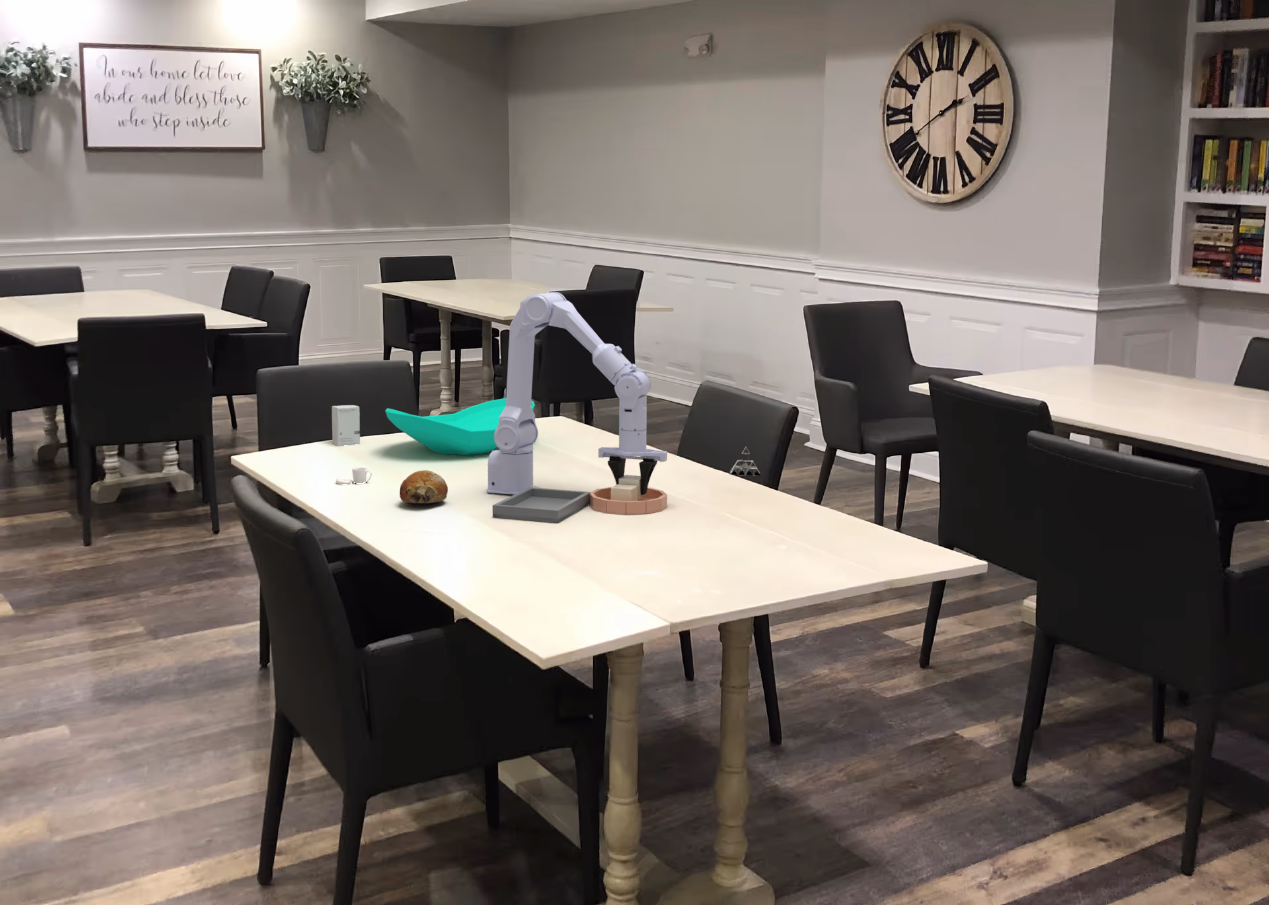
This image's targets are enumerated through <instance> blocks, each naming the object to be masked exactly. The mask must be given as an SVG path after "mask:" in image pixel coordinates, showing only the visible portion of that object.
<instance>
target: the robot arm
mask: <svg viewBox="0 0 1269 905" xmlns="http://www.w3.org/2000/svg"><path fill="white" fill-rule="evenodd" d="M519 306H520V307H519V308H518V310H517V312H516V313H515V315H514V317H513V319H512V320H511V323H510V326H509V338H508V360H507V373H506V374H507V375H506V376H507V377H506V397H505V398H506V407H505V409H504V410H503V412H502V414H501V415H500V417H499V424H498V427H497V429H496V430H495V433H494V440H495V443H496V445H497V448H498V449H494V450H492V451H490V452H489V455H488V460H487V490H486V492H487V493H492V494H500V495H501V494H502V495H515V494H517V493H519V492H521V491H523V490H525V489H527V488H529V487H533V488H541V487H540V486H537V485H536V486H535V485H534V444H535V443H536V441H537V440H538V437H539V429H538V426H537V424H536V414H535V412H534V409H533V410H532V408H531V401H532V392H533V374H534V358H535V357H534V354H535V339H536V335H537V334H538V333H539V332H541V331H542V330H543V329H544V328H546V327H547V326H551V327H557V328H559V329H561V328H562V329H565V330H567V332H569V334H571V336H573V337H574V338H575V339H576V340H577V341H578V342H579V343H580V344H581V345H582V346H583V347H584V348H585V349H586V351H587V350H588V351H589V353H591V355H592V363H593V365H594V366H595V367H596V368H597V369H598V370H599V371H600V373H602V374H603V376H604V377H606V379H608V381H609V382H610V383H611V384H612V385H614V392H615V394H616V396H617V397H618V399H619V400H618V401H619V405H618V406H619V407H618V408H619V411H618V424H619V425H618V429H619V430H618V447H614V446H613V447H610V446H608V447H603V446H601V447H599V448H598V458H601V459H603V458H608V460H607V466H608V467H609V469H610V471H611V473H612V476H613V478H614V481H615V485H617V484H619V478H621V477H623V476H624V475H625V468H626V461H627V460H639V461H640V462H639V463H638V465H639V466H638V467H639V473H640V475H639V476H641V485H640V491H641V495H645V494H646V493H647V488H648V487H649V482H650V480H651V478H652V474H653V472H654V470H655V468H656V466H657V464H658V462H660V463H665V462H667V461H668V451H667V450H657V449H651V448H647V428H648V427H647V425H648V423H647V418H648V415H647V414H648V413H647V412H648V411H647V409H648V407H647V401H648V400H647V398H648V397H647V395H648V394H649V392H650V390H651V386H652V382H651V379H650V377H649V375H648V373H647V372H646V370H645V371H644V370H642V369H637V368H638V366H637V365H636V364H635V363H631V361H629V359H628V358H626V356H625V355H624V354H623V353H622V352H623V351H622V350H623V349H622V348H621V347H620V346H619V345H617V346H615V345H614V344H612V343H605V342H604V341H603V340H602V339H601V338H600V337H599V336H598V334H597V333H596V332H595V331H594V329H593V328H592V327H591V326H590V325H589V323H588V322H587V321H586V320H585V319H584V318H583V317H582V315H581V314H580V313H579V312H578V311H577V309H576V307H575V306H574V304H573V303H572V302H570V301H569V300H567V299H566V297H565V296H564V295H563V294H562V293H560V292H556V291H550V292H546V293H533V294H530V295H529V296H527V297H526V298H525V299H523V300H521V301H520V304H519ZM641 460H642V461H641Z"/></svg>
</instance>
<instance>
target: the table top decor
mask: <svg viewBox="0 0 1269 905" xmlns="http://www.w3.org/2000/svg"><path fill="white" fill-rule="evenodd" d="M535 406H536V404H535V402H534V400H531V408H532V410H533V411H534V408H535ZM505 407H506V397H505V398H500V399H494V400H488V401H485V402H482V403H479V404H478V403H477V404H476V405H472V406H469V407H466V408H464V409H462V410H459V411H457V412H454V413H450V414H448V413H447V414H439V415H438V414H437V415H429V416H427V415H426V416H419V415H415V414H410V413H407V412H403V411H399V410H396V409H393V408H386V409H385V410H384V411H385V414H386V417H387V419H388V420H389V421H390V422H391V423H392V424H393V425H394V426H395V427H396V428H398V429H399V430H400V431H401V432H403V433H404V434H406V435H407V436H409V437H410V438H412V439H413V440H415V441H417V442H418V443H420V444H421V445H423V446H424V447H425V448H427V449H429V450H431V451H432V452H434V453H437V454H441V453H443V454H442V455H460V454H461V455H462V456H467V455H468V456H475V455H476V456H477V455H483V454H488V453H489V454H490V453H491V452H492V451H494V450H496V449H497V448H498V447H497V445H496V443H495V440H494V433H495V430H496V429H497V427H498V424H499V417H500V415H501V414H502V412H503V410H504V409H505Z"/></svg>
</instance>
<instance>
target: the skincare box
mask: <svg viewBox="0 0 1269 905" xmlns="http://www.w3.org/2000/svg"><path fill="white" fill-rule="evenodd" d="M360 415H361V413H360V406H358V405H354V404H347V405H345V404H344V405H343V404H342V405H332V406H331V430H332V431H331V432H332V433H331V434H332V439H331V440H332V441H331V442H332V445H334V446H336V447H345V446H344V445H348V446H354V445H355V444H357V445H360V444H361V433H360V432H361V430H360V428H361V427H360V426H361V424H360V423H361V422H360V420H361V419H360ZM355 446H356V445H355Z"/></svg>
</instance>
